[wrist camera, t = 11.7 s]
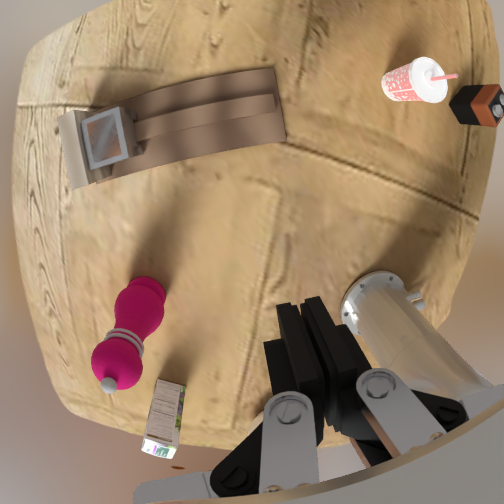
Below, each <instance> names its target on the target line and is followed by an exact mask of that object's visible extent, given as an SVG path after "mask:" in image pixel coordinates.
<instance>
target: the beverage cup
mask: <svg viewBox="0 0 504 504" xmlns="http://www.w3.org/2000/svg"><path fill="white" fill-rule="evenodd" d="M450 78H458V74H450V75H445V74H444V72H443V70H442V69H441V67H440V66H439V65H438V64H437V63H436V62H435V61H434V60H432V59H430V58H427V57H420V58H417V59H414V60H413V62H412V63H409V64H407V65H405V66H402V67H400V68H397V69H395V70H393V71H391V72H388V73H386V74H385V75H384V76H383V78H382V88H383V91H384V93H385V94H386V95H387V96H388V97H389V98H390V99H392V100H395V101H426V102H430V103H437V102H440V101H442V100H443V99H444V98H445V96H446V94H447V89H448V87H447V79H450Z"/></svg>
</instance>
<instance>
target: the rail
mask: <svg viewBox="0 0 504 504" xmlns="http://www.w3.org/2000/svg"><path fill="white" fill-rule="evenodd" d="M116 107H123V108H127V109H130V110H134V111H135V112H136V117H137V120H136V121H133V123H134V129H135V134H136V139H137V144H138V145H142V148H143V153H144V154H143V155H140V156H137V157H133V158H130V159H126V160H123V161H120V162H117V163H114V164H111V165H107V166H104V167H100V168H97V169H93V170H90V166H89V162H88V157H87V152H86V148H85V143H84V137H83V132H82V126H81V121H82V120H85V119H87V118H90V117H92V116H95V115H97V114H100V113H102V112H105V111H108V110H110V109H113V108H116ZM57 119H58V126H59V132H60V137H61V143H62V148H63V153H64V158H65V163H66V167H67V172H68V176H69V180H70V184H71V188H72V190H74V189H77V188H80V187H83V186H86V185H89V184H91V183H94V182H96V184H99V183H102V182H105V181H108V180H111V179H114V178H118V177H121V176H124V175H128V174H131V173H135V172H138V171H142V170H145V169H149V168H153V167H157V166H161V165H164V164H168V163H172V162H177V161H181V160H185V159H189V158H194V157H198V156H203V155H208V154H212V153H217V152H222V151H227V150H233V149H238V148H244V147H249V146H255V145H261V144H268V143H274V142H281V141H286V135H285V129H284V123H283V117H282V111H281V106H280V100H279V95H278V89H277V84H276V79H275V74H274V69H273V68H267V69H259V70H251V71H244V72H237V73H231V74H225V75H219V76H214V77H209V78H204V79H199V80H195V81H190V82H186V83H182V84H178V85H174V86H170V87H166V88H162V89H159V90H155V91H152V92H149V93H145V94H142V95H139V96H136V97H133V98H129V99H126V100H124V101H121V102H118V103H115V104H112V105H109V106H107V107H104V108H102V109H99V110H96V111H94V112H87V111H79V110H72V111H70V112H68V113H66V114H63V115H61V116H59V117H57Z"/></svg>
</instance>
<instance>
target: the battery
mask: <svg viewBox="0 0 504 504" xmlns="http://www.w3.org/2000/svg"><path fill="white" fill-rule="evenodd" d="M449 106H450V108H451V109H452V111H453V113H454V114H455V116H456V118H457V119H458V121H459V123H460V124H468V125H480V126H489V127H497V125H498V124H499V122H500V120H501V119H502V118H503V116H504V93H503V91H502V89H501V87H500V85H499V84H490V85H470V86H464V87H463V88H462V89H461V90H460V92H459V93H458V94H457V95H456V96H455V98H454V99H453V100H452V101H451V103H450V104H449Z"/></svg>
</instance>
